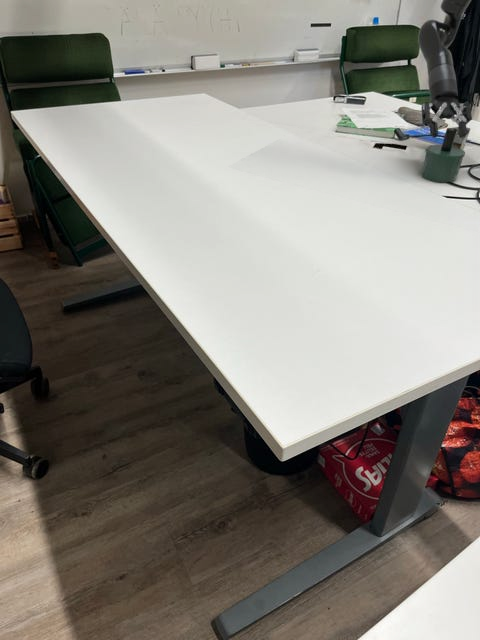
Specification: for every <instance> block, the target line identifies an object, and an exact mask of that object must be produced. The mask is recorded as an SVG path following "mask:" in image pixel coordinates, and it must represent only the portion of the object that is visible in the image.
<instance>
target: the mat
mask: <svg viewBox="0 0 480 640" xmlns="http://www.w3.org/2000/svg"><path fill="white" fill-rule="evenodd" d="M384 147H385V148H390V149H398V150H403V151H407V148H408V145H405V144H400V143H389V142H388V143H386V142H385V143H384V142H375V143H374V144H373V146H372V148H373V149H379V150H383V148H384Z"/></svg>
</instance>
